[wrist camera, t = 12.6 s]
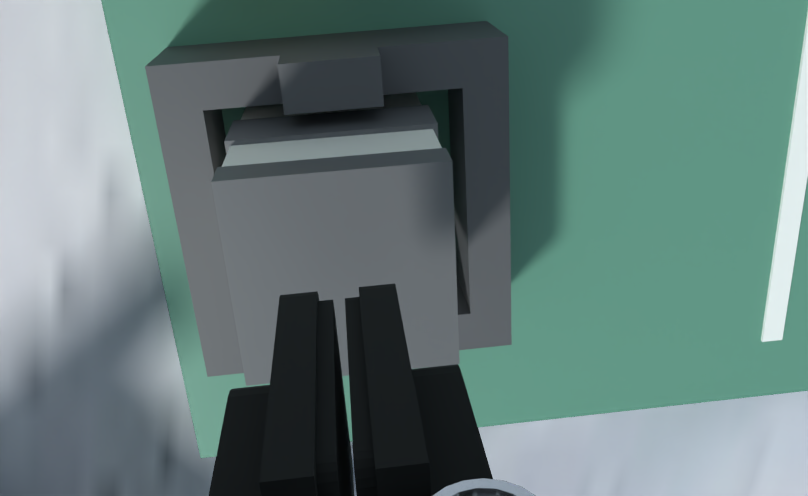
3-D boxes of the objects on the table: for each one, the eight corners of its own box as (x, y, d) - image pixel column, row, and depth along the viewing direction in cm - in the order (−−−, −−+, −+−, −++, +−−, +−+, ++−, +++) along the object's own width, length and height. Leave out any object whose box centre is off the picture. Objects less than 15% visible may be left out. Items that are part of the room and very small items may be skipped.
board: (893, 357, 25) (1006, 448, 21) (206, 432, 24) (180, 545, 20) (1022, -215, 18) (1226, -251, 14) (83, -152, 17) (6, -170, 13)
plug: (425, 239, 20) (461, 363, 15) (266, 254, 20) (243, 385, 15) (417, 83, 19) (454, 157, 13) (243, 97, 19) (207, 179, 13)
